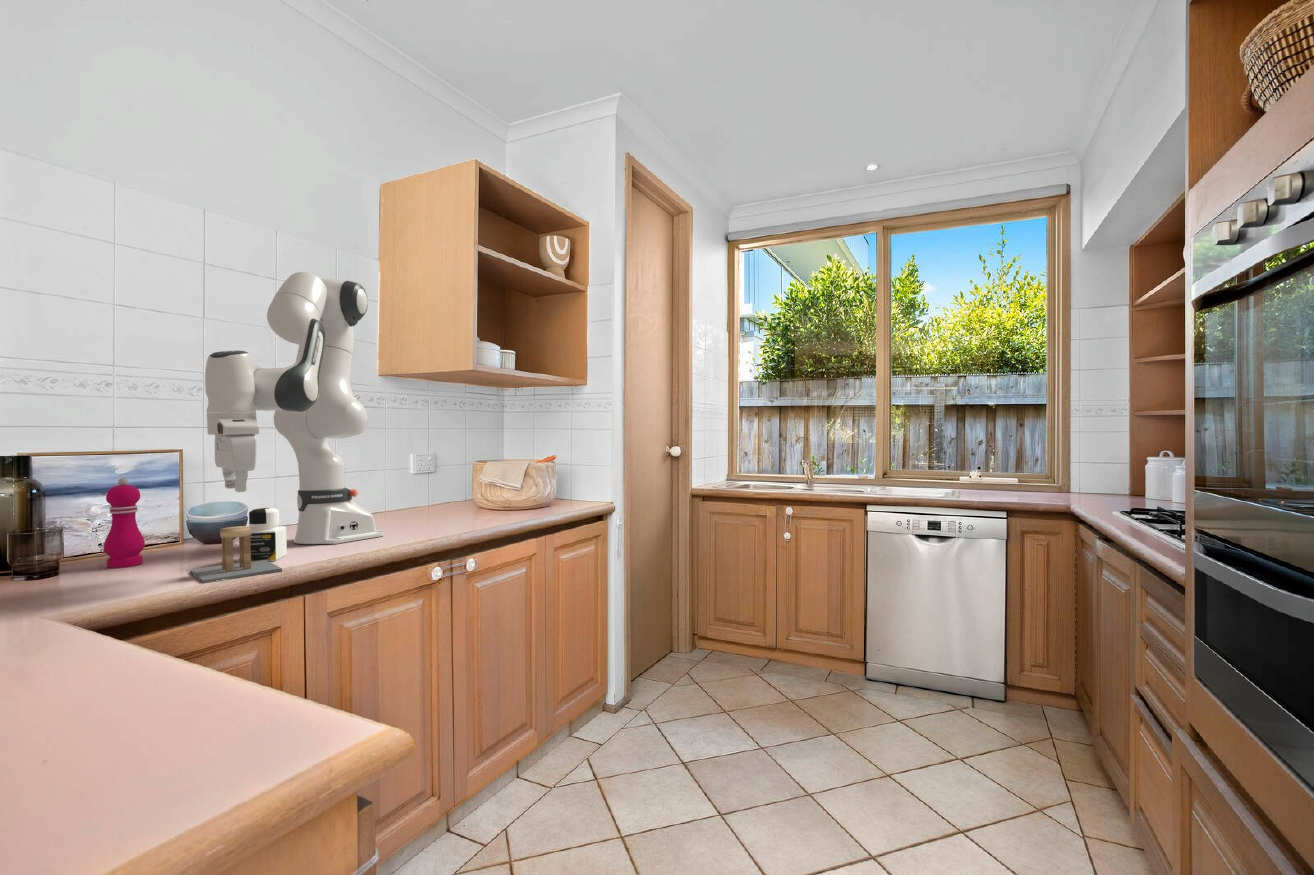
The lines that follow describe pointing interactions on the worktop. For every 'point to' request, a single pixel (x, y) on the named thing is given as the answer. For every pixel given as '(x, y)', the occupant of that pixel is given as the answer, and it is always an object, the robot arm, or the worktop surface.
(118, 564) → the pepper mill
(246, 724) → the worktop surface
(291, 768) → the worktop surface
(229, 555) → the stool
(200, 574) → the mat
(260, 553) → the medicine bottle
